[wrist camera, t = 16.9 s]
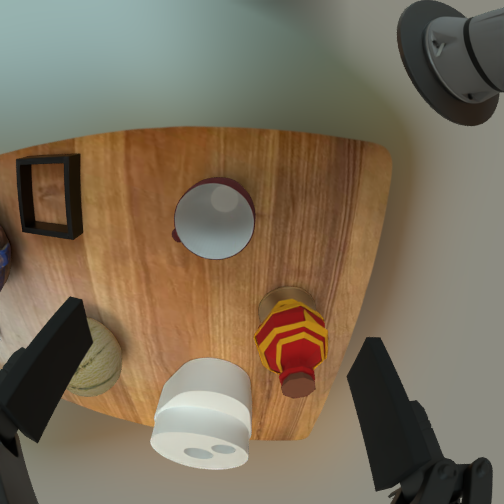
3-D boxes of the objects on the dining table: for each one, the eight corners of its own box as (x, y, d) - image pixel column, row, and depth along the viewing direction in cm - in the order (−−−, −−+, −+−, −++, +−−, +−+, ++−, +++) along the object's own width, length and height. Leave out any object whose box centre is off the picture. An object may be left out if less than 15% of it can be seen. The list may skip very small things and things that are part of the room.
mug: (207, 248, 39) (192, 286, 30) (169, 205, 36) (142, 231, 27) (268, 203, 36) (271, 230, 27) (229, 155, 34) (219, 164, 24)
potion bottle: (241, 306, 42) (235, 382, 28) (300, 272, 40) (319, 344, 26) (277, 346, 46) (283, 420, 32) (331, 318, 43) (355, 390, 29)
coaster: (289, 275, 40) (290, 277, 40) (326, 309, 43) (327, 311, 42) (246, 310, 43) (246, 312, 43) (284, 340, 46) (285, 342, 45)
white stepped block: (273, 370, 49) (276, 431, 37) (238, 428, 59) (235, 474, 47) (169, 345, 47) (149, 404, 34) (159, 410, 57) (147, 455, 44)
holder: (80, 153, 33) (68, 156, 30) (83, 232, 38) (73, 240, 35) (27, 156, 32) (16, 159, 30) (32, 226, 38) (22, 232, 35)
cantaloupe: (147, 349, 48) (122, 411, 34) (103, 364, 51) (77, 415, 37) (96, 289, 43) (52, 345, 29) (58, 314, 46) (20, 361, 32)
